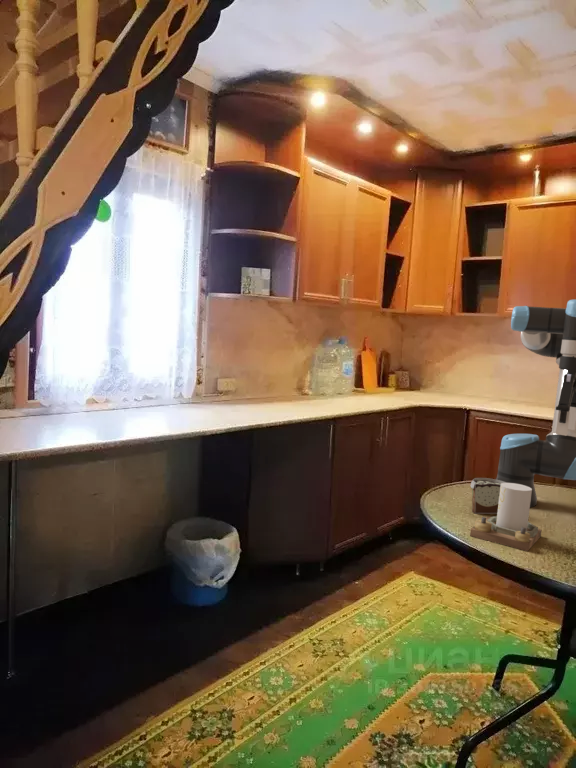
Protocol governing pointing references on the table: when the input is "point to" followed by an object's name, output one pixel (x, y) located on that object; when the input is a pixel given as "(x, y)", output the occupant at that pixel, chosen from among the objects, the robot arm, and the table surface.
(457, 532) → the table surface
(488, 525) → the gear board
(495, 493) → the food container
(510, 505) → the tall round pillar
